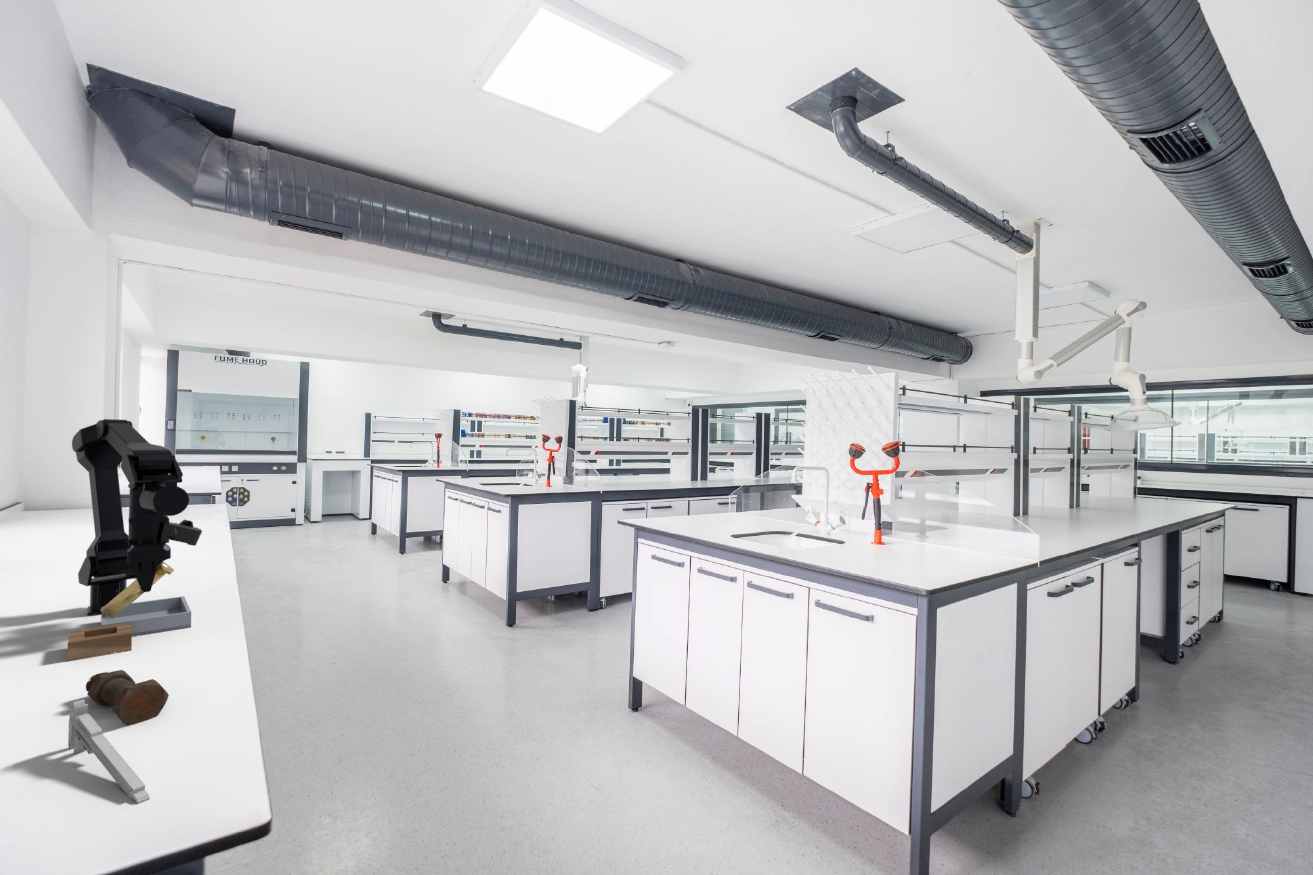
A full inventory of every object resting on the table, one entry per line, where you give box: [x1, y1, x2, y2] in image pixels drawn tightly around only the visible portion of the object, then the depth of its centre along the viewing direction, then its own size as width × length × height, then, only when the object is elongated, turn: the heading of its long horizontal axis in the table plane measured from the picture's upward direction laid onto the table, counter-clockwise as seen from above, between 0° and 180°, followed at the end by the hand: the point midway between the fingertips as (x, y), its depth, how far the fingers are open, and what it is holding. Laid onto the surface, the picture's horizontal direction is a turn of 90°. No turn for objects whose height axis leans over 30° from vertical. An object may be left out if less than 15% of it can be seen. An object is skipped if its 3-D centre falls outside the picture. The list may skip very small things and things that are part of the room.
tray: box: [100, 595, 192, 637], centre depth 118 cm, size 15×13×3 cm
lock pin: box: [101, 561, 175, 619], centre depth 116 cm, size 4×4×12 cm
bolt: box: [85, 669, 170, 726], centre depth 82 cm, size 6×5×15 cm
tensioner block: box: [66, 622, 133, 662], centre depth 104 cm, size 8×8×3 cm
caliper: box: [67, 698, 150, 804], centre depth 67 cm, size 20×1×6 cm, turn 60°
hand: (146, 590), depth 117 cm, fingers closed on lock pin, 3 cm apart
